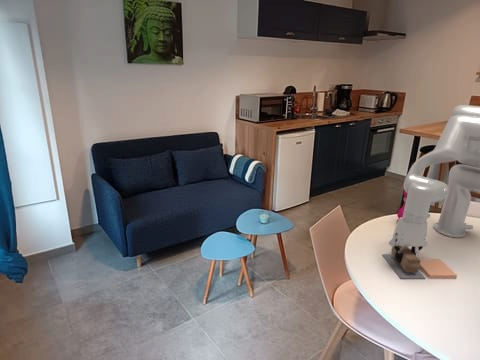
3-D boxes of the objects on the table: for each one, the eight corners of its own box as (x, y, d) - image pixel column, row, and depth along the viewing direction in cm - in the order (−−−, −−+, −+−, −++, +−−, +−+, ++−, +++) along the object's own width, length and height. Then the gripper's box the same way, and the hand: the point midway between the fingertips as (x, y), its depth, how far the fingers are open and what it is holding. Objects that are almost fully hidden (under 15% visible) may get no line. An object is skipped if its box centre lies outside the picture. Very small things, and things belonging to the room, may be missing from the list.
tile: (414, 259, 126) (429, 275, 117) (440, 259, 127) (457, 275, 117) (413, 263, 127) (428, 279, 118) (438, 263, 128) (455, 280, 118)
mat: (404, 255, 131) (404, 254, 131) (425, 279, 117) (425, 278, 117) (382, 255, 131) (382, 254, 131) (400, 279, 117) (401, 277, 117)
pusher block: (390, 253, 129) (393, 242, 127) (400, 253, 129) (403, 242, 127) (406, 272, 118) (409, 260, 116) (417, 272, 118) (420, 260, 116)
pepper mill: (414, 229, 153) (424, 188, 146) (397, 227, 154) (406, 187, 147) (409, 222, 159) (419, 183, 152) (394, 220, 161) (402, 181, 154)
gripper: (431, 212, 121) (420, 255, 127) (386, 211, 120) (377, 254, 126) (444, 222, 114) (431, 266, 120) (396, 221, 113) (386, 266, 119)
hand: (404, 260), depth 123 cm, fingers open, 4 cm apart
